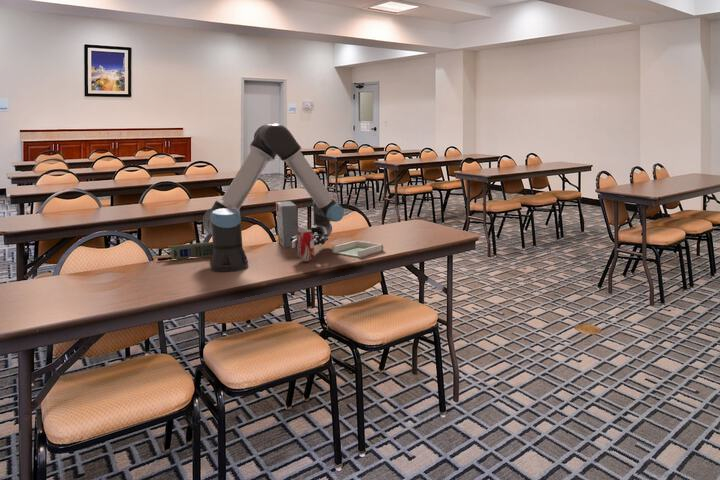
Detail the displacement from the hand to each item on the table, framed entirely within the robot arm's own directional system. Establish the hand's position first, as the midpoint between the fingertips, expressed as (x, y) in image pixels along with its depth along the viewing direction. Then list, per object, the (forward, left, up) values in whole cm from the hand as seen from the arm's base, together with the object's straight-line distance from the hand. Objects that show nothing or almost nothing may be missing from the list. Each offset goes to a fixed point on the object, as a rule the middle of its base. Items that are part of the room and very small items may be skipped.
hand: (301, 244), depth 229 cm
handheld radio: (-21, +52, -9) cm, 56 cm away
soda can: (+4, +2, -7) cm, 9 cm away
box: (+30, -4, -8) cm, 32 cm away
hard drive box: (+25, +36, -9) cm, 45 cm away
